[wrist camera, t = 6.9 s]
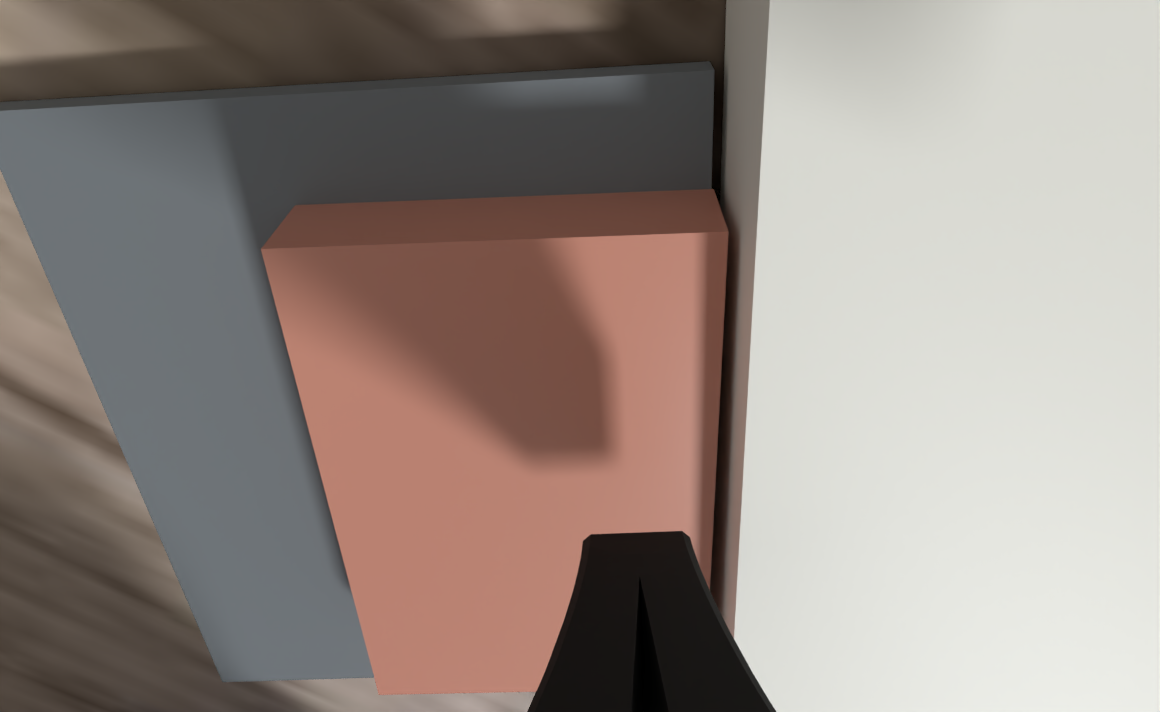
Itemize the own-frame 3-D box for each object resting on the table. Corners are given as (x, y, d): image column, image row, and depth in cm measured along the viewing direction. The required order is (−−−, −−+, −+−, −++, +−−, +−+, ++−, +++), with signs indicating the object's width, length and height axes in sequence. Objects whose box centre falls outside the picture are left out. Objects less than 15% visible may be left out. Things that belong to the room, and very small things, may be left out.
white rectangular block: (704, 692, 19) (723, 829, 16) (728, -62, 11) (771, -28, 8) (1217, 677, 18) (1319, 815, 16) (1632, -118, 10) (1972, -101, 8)
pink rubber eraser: (394, 629, 17) (378, 694, 16) (294, 205, 12) (260, 248, 11) (695, 622, 17) (704, 687, 15) (714, 188, 12) (729, 231, 11)
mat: (230, 662, 18) (222, 681, 18) (-3, 102, 12) (-24, 112, 12) (696, 647, 18) (699, 667, 17) (710, 61, 12) (713, 70, 11)
